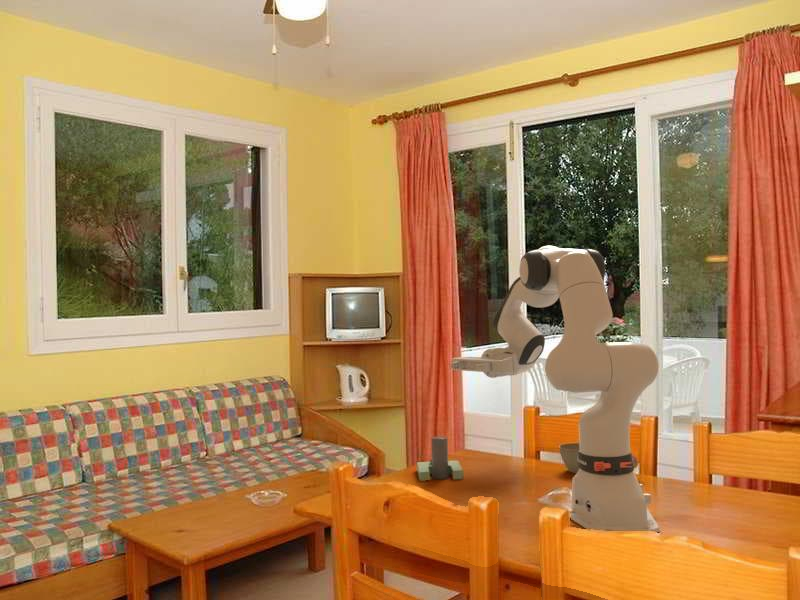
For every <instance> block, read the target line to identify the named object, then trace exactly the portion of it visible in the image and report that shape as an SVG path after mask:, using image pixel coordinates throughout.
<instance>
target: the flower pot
mask: <svg viewBox="0 0 800 600" xmlns="http://www.w3.org/2000/svg"><path fill="white" fill-rule="evenodd" d="M558 450H559V454H560V456H561V460H562V462H563V464H564V466H565V467H566V469H567V471H568V472H569V473H572V474H577V472H578V470H579V467H578V461H577V457H578V451H579V450H580V448H579V442H568V443H566V442H565V443H561V444H560V445H559V446H558Z"/></svg>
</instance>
